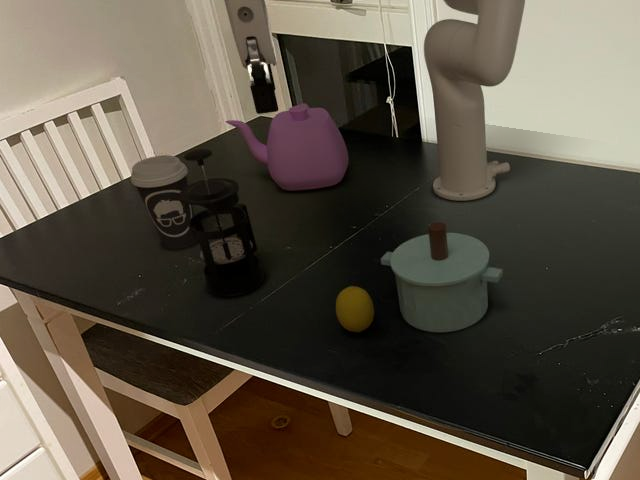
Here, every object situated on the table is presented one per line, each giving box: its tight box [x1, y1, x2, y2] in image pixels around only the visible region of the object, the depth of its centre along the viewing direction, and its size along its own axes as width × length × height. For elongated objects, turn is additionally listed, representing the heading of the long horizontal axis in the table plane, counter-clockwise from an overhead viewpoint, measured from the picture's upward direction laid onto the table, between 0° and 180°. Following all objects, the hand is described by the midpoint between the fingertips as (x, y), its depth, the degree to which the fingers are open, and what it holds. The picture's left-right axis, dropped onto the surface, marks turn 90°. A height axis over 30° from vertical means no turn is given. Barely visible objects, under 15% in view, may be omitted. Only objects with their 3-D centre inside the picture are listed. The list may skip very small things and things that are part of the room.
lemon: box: [335, 285, 375, 333], centre depth 109 cm, size 6×6×8 cm
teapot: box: [225, 103, 350, 191], centre depth 153 cm, size 23×21×15 cm
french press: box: [179, 148, 265, 299], centre depth 117 cm, size 12×9×23 cm
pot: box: [380, 251, 504, 333], centre depth 113 cm, size 14×19×8 cm
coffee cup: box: [130, 154, 199, 250], centre depth 132 cm, size 10×10×15 cm
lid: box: [390, 221, 490, 286], centre depth 109 cm, size 15×15×6 cm
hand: (266, 101), depth 111 cm, fingers open, 9 cm apart
